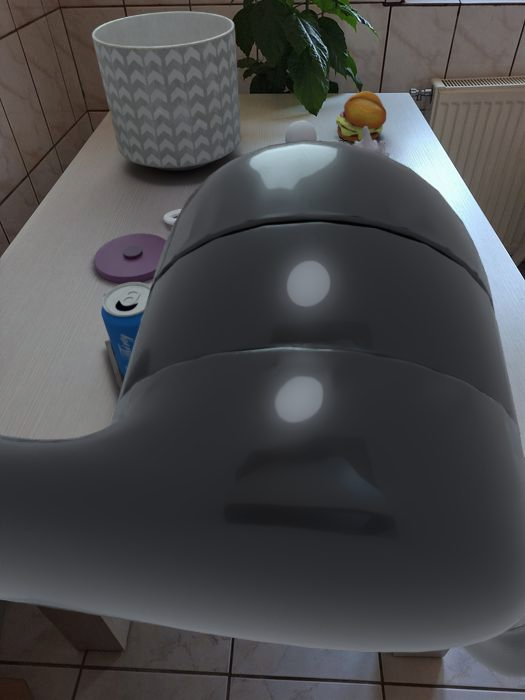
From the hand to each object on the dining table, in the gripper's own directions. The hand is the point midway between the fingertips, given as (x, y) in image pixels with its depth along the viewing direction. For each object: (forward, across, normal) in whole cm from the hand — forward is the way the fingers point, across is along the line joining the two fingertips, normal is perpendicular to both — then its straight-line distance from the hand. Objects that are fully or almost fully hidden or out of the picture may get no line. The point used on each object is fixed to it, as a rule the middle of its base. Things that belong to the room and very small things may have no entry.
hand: (197, 367), depth 51 cm
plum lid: (+31, -14, +8) cm, 35 cm away
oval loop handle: (+30, -32, +8) cm, 44 cm away
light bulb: (+30, -54, +8) cm, 62 cm away
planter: (+53, -43, +8) cm, 69 cm away
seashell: (+19, -61, +8) cm, 64 cm away
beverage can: (+10, 0, +8) cm, 13 cm away
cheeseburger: (+31, -76, +8) cm, 83 cm away
